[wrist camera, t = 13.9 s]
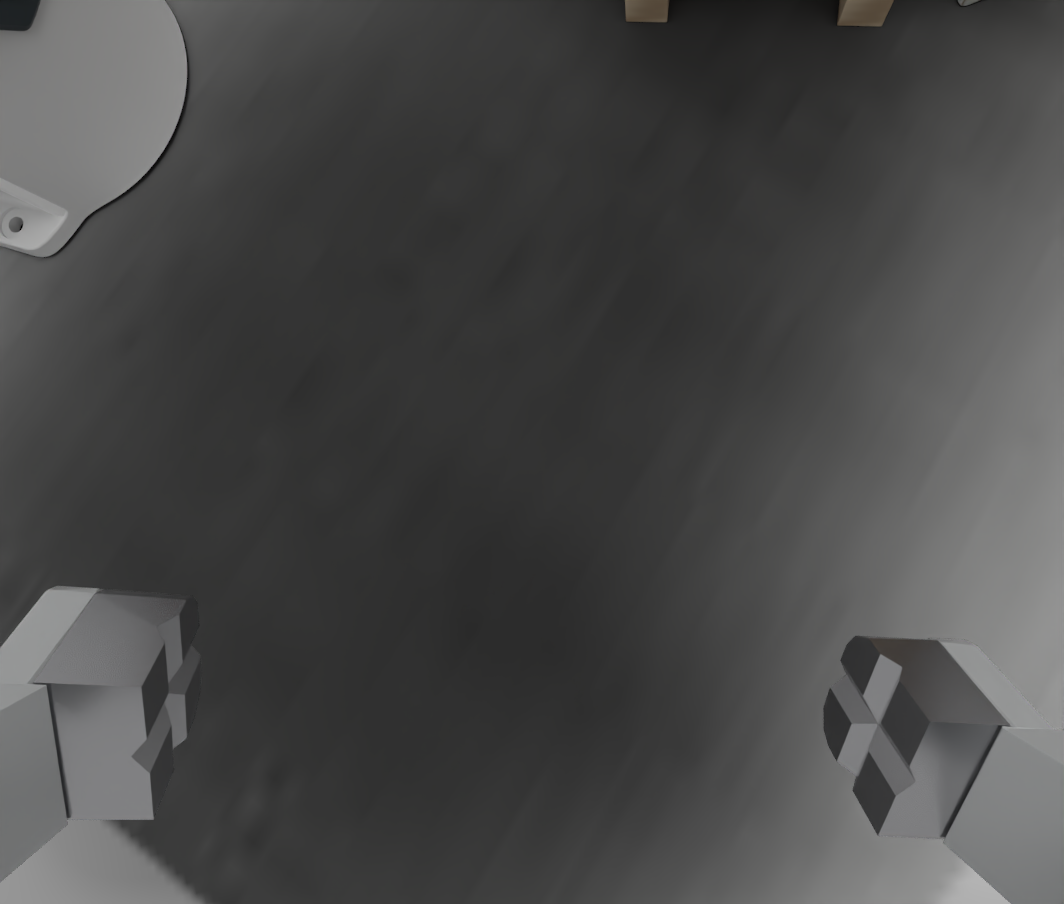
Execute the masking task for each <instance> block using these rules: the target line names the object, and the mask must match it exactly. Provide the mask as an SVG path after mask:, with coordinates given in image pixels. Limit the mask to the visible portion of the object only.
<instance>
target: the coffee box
mask: <svg viewBox="0 0 1064 904" xmlns="http://www.w3.org/2000/svg"><path fill="white" fill-rule="evenodd" d="M978 1H980V0H958V2H959V4H960V5H961V6H967V5H970V4H972V3H975V2H978Z"/></svg>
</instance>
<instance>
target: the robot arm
mask: <svg viewBox="0 0 1064 904" xmlns="http://www.w3.org/2000/svg"><path fill="white" fill-rule="evenodd" d="M186 84H187V58H186V50H185V45H184V41H183V37H182V33H181V31H180V28H179V25H178V23H177V20H176V18H175V16H174V14H173V12H172V11H171V9H170V8H169V6H168V5H167V3H166V2H165V0H0V246H3V247H6V248H10V249H13V250H16V251H20V252H23V253H26V254H30V255H33V256H37V257H47V256H50V255H53V254H54V253H56V252H57V251H58V250H59V249H60V248H61V247H63V246H64V244H65V243H66V242H67V241H68V240H69V239H70V237H71V236H72V235H73V234H74V232H75V231H76V230H77V229H78V227H79V226H80V225H81V223H82V222H83V221H84V219H85V218H86V217H87V216H89V215H90V214H91V213H92V212H94V211H95V210H97V209H98V208H100V207H101V206H103V205H105V204H106V203H108V202H110V201H112V200H113V199H115V198H116V197H118V196H120V195H121V194H122V193H124V192H125V191H127V190H128V189H129V188H130V187H132V186H133V185H134V184H135V183H136V182H137V181H138V180H140V179H141V178H142V177H143V176H144V175H145V174H146V172H147V171H148V170H149V169H150V168H151V167H152V166H153V164H154V163H155V162H156V160H157V159H158V158H159V156H160V155H161V153H162V152H163V150H164V149H165V147H166V145H167V144H168V142H169V140H170V138H171V136H172V134H173V132H174V130H175V127H176V125H177V122H178V120H179V117H180V114H181V110H182V107H183V103H184V98H185V92H186ZM22 224H23V227H22V229H21V230H20V226H21V225H22ZM199 626H200V624H199V612H198V602H197V601H196V599H195V598H194V597H193V596H189V595H177V594H164V593H152V592H139V591H127V590H114V589H103V590H101V589H98V588H84V587H68V586H56V587H54V588H51V589H49V590H47V591H46V592H45V593H44V594H43V595H42V596H41V598H40V599H39V600H38V601H37V603H36V604H35V605H34V606H33V608H32V609H31V610H30V611H29V613H28V614H27V615H26V616H25V618H24V619H23V620H22V621H21V623H20V624H19V625H18V626H17V628H16V629H15V630H14V631H13V633H12V634H11V635H10V636H9V638H8V639H7V640H6V641H5V643H4V644H3V645H2V646H1V648H0V882H1V881H2V880H4V879H5V878H6V877H7V876H8V875H9V874H11V872H13V871H14V870H15V869H16V868H18V867H19V866H20V865H21V864H22V863H23V862H25V861H26V860H27V859H28V858H29V857H30V856H32V855H33V854H34V853H35V852H36V851H37V850H39V849H40V848H41V847H42V846H43V845H44V844H46V843H47V842H48V841H49V840H50V839H51V838H53V837H54V836H55V835H56V834H57V833H58V832H60V831H61V830H62V829H63V828H64V827H66V826H67V824H68V822H67V820H142V819H154V817H155V815H156V812H157V810H158V808H159V805H160V803H161V800H162V798H163V796H164V793H165V791H166V788H167V786H168V783H169V781H170V779H171V776H172V774H173V771H174V757H173V748H174V747H175V746H177V745H178V744H180V743H181V742H182V741H184V740H185V739H187V737H188V734H189V732H190V729H191V726H192V724H193V721H194V719H195V714H196V710H197V705H198V701H199V696H200V690H201V677H202V666H201V656H200V654H199V653H198V652H197V651H196V650H195V649H194V648H193V647H192V646H191V644H192V641H193V639H194V637H195V635H196V633H197V630H198V628H199ZM840 661H841V663H842V665H843V668H844V670H845V672H846V675H845V676H844V677H843V678H841V679H840V680H839V681H838V682H836V683H835V684H834V685H833V686H831V687H830V690H829V693H828V696H827V699H826V702H825V705H824V732H825V735H826V739H827V743H828V746H829V748H830V750H831V752H832V753H833V755H834V757H835V759H836V761H837V762H838V763H839V764H841V765H842V766H843V767H845V768H846V769H847V770H848V771H850V772H851V773H852V774H854V775H855V776H856V779H855V783H854V787H853V792H854V794H855V796H856V797H857V799H858V801H859V803H860V805H861V806H862V808H863V810H864V812H865V813H866V815H867V817H868V819H869V821H870V822H871V824H872V826H873V828H874V830H875V831H876V833H877V835H878V836H889V837H908V838H927V839H945V840H944V842H943V843H944V844H945V845H946V846H947V847H948V848H950V849H951V850H952V851H953V852H954V853H955V854H956V855H957V856H958V857H960V858H961V859H962V860H963V861H964V862H965V863H966V864H967V865H969V866H970V867H971V868H972V869H973V870H974V871H975V872H976V873H977V874H979V875H980V876H981V877H982V878H983V879H984V880H985V881H986V882H988V883H989V884H990V885H991V886H992V887H993V888H994V889H995V890H997V891H998V892H999V893H1000V894H1001V895H1002V896H1003V897H1004V898H1005V899H1007V900H1008V901H1009V902H1010V903H1011V904H1064V729H1053V728H1052V727H1051V726H1050V725H1049V724H1048V723H1047V722H1046V720H1045V719H1044V718H1043V717H1042V716H1041V715H1040V714H1039V713H1038V712H1037V711H1036V709H1035V708H1034V707H1033V706H1032V705H1031V704H1030V703H1029V702H1028V701H1027V700H1026V699H1025V697H1024V696H1023V695H1022V694H1021V693H1020V692H1019V691H1018V690H1017V689H1016V688H1015V687H1014V685H1013V684H1012V683H1011V682H1010V681H1009V680H1008V679H1007V678H1006V677H1005V676H1004V675H1003V673H1002V672H1001V671H1000V670H999V669H998V668H997V667H996V666H995V665H994V664H993V663H992V661H991V660H990V659H989V658H988V657H987V656H986V655H985V654H984V653H983V652H982V651H981V649H980V648H979V647H978V646H977V645H975V644H973V643H971V642H969V641H967V640H965V639H934V638H928V639H926V640H925V639H907V638H888V637H870V636H855V637H854V638H853V639H852V640H851V641H850V642H849V643H848V644H847V645H846V648H845V650H844V653H843V655H842V658H841V660H840Z"/></svg>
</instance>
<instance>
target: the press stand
mask: <svg viewBox="0 0 1064 904" xmlns="http://www.w3.org/2000/svg"><path fill="white" fill-rule="evenodd" d="M893 1H894V0H839V11H838V22H837V26H882V24H883V22H884V20H885V18H886V16H887V14H888V12H889V10H890V7H891V5H892V3H893ZM668 8H669V0H625V9H626V22H667V17H668Z"/></svg>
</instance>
